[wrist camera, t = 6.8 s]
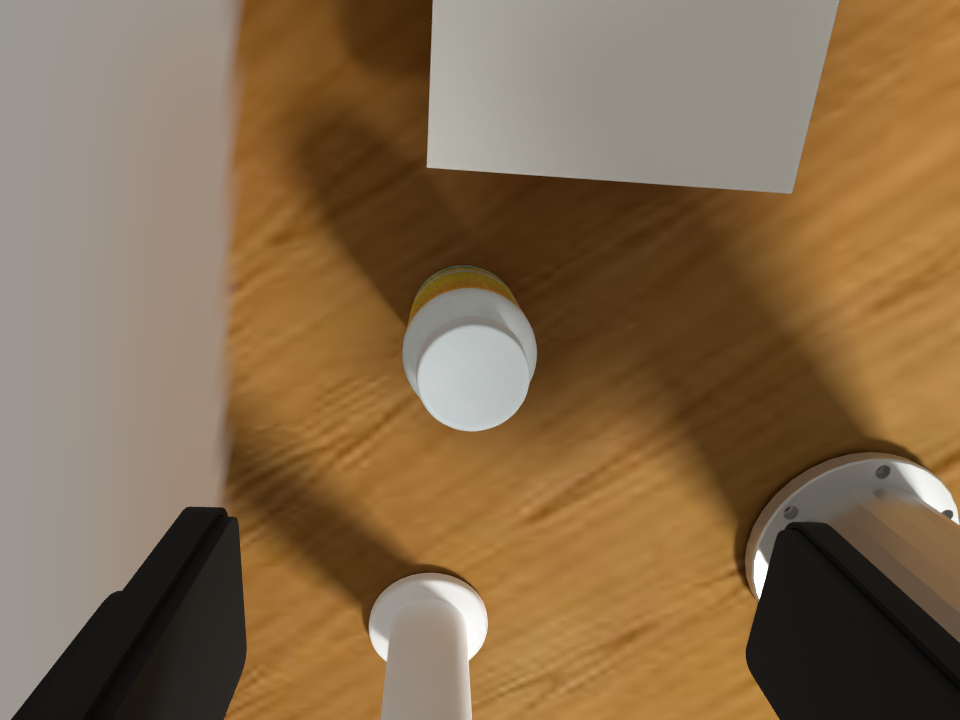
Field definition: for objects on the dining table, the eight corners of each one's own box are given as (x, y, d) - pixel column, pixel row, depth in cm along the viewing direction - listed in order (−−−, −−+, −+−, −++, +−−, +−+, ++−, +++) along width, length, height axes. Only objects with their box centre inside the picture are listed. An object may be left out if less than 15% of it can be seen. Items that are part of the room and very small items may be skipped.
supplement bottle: (534, 335, 30) (576, 408, 21) (443, 383, 30) (445, 475, 21) (485, 242, 28) (507, 277, 19) (390, 295, 28) (366, 353, 19)
